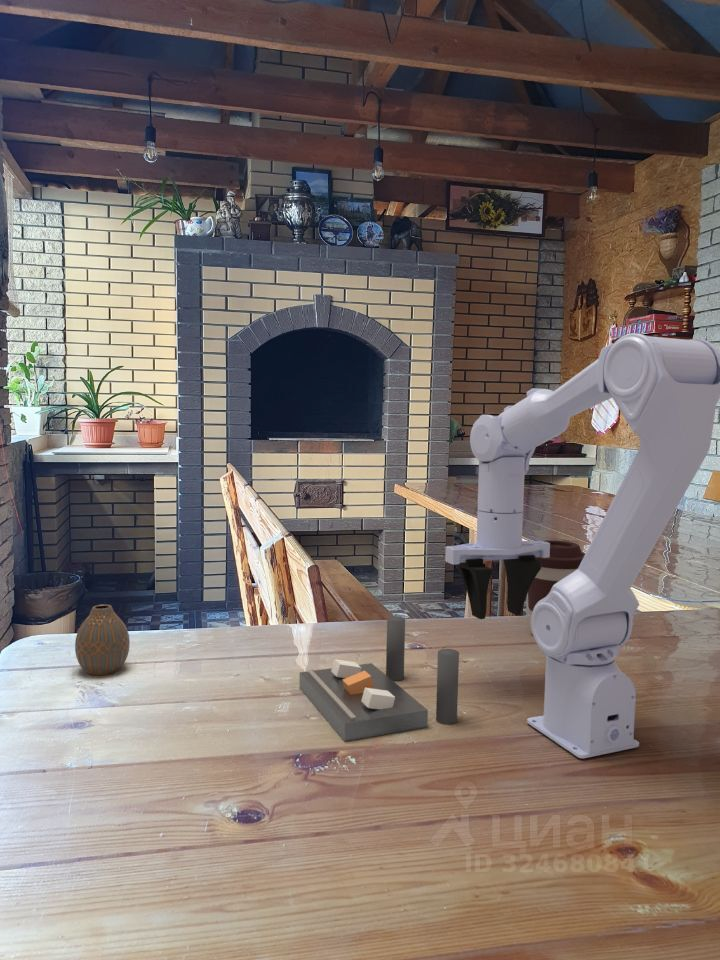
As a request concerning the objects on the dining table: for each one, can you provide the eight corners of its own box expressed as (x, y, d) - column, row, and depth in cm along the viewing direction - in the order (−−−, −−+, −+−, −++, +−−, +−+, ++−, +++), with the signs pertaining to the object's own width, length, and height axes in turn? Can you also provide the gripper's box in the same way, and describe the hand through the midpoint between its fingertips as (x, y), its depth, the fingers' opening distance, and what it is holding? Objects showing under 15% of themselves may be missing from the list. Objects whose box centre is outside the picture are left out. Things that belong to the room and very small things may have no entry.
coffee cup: (593, 646, 109) (598, 550, 107) (529, 644, 109) (533, 548, 108) (575, 626, 119) (579, 538, 117) (516, 625, 119) (519, 537, 117)
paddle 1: (358, 679, 89) (361, 667, 89) (336, 676, 88) (339, 664, 88) (352, 674, 91) (355, 662, 91) (331, 671, 90) (334, 659, 90)
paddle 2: (391, 710, 80) (395, 697, 80) (368, 708, 78) (371, 694, 79) (384, 704, 82) (387, 690, 82) (361, 701, 80) (364, 687, 80)
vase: (138, 662, 98) (137, 601, 98) (116, 680, 92) (115, 614, 91) (90, 660, 99) (89, 598, 98) (65, 678, 92) (64, 612, 91)
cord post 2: (460, 722, 81) (462, 654, 80) (442, 725, 80) (444, 656, 79) (450, 714, 83) (452, 647, 82) (432, 717, 82) (434, 650, 81)
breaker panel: (427, 727, 79) (428, 707, 79) (344, 741, 76) (344, 720, 75) (371, 677, 94) (371, 660, 94) (299, 687, 90) (299, 670, 90)
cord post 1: (406, 679, 94) (408, 620, 93) (390, 681, 93) (391, 622, 92) (399, 673, 96) (400, 615, 95) (382, 675, 95) (384, 617, 94)
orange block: (374, 688, 84) (371, 676, 84) (351, 697, 83) (348, 685, 83) (367, 682, 86) (364, 670, 86) (345, 691, 85) (342, 679, 85)
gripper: (528, 504, 96) (524, 602, 98) (434, 508, 91) (432, 611, 92) (561, 511, 90) (557, 616, 91) (463, 516, 84) (459, 627, 86)
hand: (496, 615), depth 91 cm, fingers open, 5 cm apart
